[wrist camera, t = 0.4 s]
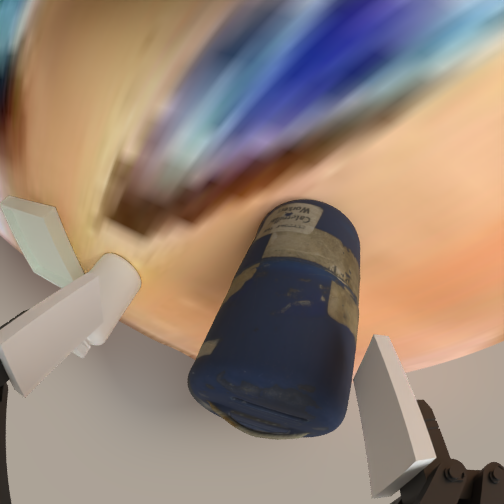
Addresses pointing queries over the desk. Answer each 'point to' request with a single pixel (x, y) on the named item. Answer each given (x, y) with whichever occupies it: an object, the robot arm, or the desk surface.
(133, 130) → the desk surface
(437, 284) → the desk surface
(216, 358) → the canister
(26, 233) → the tray
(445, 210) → the desk surface
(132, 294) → the pill bottle
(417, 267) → the desk surface
